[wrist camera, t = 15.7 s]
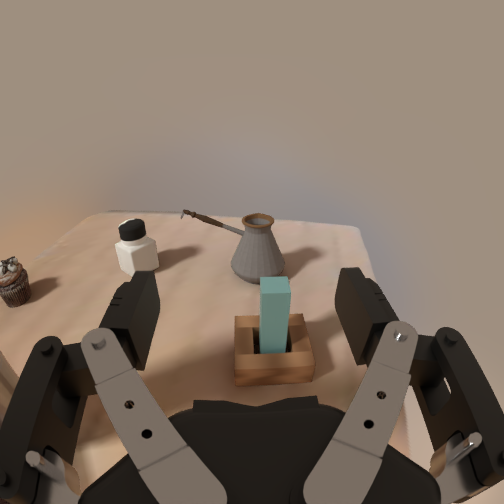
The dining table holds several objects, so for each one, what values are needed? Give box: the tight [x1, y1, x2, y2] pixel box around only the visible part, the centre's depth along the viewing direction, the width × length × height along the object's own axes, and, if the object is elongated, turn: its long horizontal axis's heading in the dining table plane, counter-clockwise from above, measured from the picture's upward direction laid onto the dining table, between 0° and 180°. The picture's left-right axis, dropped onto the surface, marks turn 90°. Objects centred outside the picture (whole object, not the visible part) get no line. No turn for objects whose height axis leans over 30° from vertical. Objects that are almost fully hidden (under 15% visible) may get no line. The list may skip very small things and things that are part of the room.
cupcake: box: [0, 257, 31, 308], centre depth 52 cm, size 10×10×10 cm
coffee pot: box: [181, 210, 285, 284], centre depth 62 cm, size 21×12×15 cm, turn 88°
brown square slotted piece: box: [234, 314, 315, 386], centre depth 43 cm, size 11×11×4 cm
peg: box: [259, 276, 291, 354], centre depth 41 cm, size 4×4×14 cm
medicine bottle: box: [115, 219, 160, 277], centre depth 64 cm, size 7×7×12 cm
